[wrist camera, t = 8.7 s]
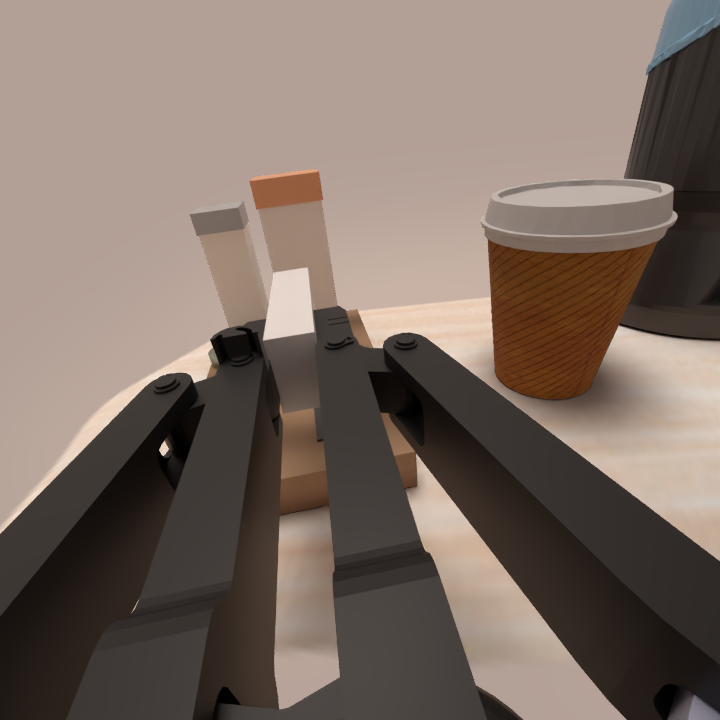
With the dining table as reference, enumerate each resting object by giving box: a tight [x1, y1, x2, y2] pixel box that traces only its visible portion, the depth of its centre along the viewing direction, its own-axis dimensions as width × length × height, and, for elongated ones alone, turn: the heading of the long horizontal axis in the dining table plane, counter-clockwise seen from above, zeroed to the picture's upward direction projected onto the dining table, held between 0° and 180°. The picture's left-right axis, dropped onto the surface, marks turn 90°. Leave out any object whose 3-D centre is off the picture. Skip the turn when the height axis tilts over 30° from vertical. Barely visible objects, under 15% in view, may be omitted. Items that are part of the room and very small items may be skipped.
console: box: [207, 310, 417, 515], centre depth 25 cm, size 18×12×4 cm, turn 9°
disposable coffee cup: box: [481, 179, 678, 399], centre depth 23 cm, size 10×10×12 cm
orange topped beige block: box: [250, 169, 337, 310], centre depth 26 cm, size 3×4×11 cm
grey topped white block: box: [190, 201, 269, 328], centre depth 28 cm, size 3×3×10 cm
